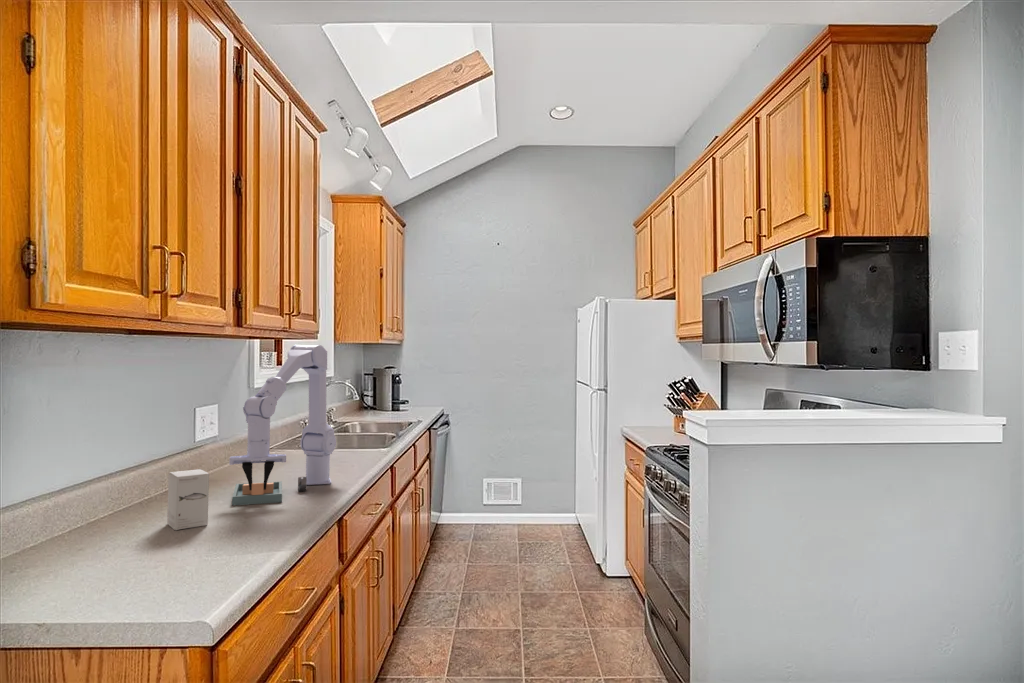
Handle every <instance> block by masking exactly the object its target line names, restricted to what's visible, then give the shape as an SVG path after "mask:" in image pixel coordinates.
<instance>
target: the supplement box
mask: <svg viewBox="0 0 1024 683" xmlns="http://www.w3.org/2000/svg"><path fill="white" fill-rule="evenodd" d="M167 481H168V483H167V484H168V485H167V520H166V521H167V525H168V526H169V527H170V528H171V529H173V530H174V531H179V530H182V529H183V530H184V529H191V528H198V527H205V526H208V524H209V488H210V487H209V486H210V484H209V483H210V473H209V472H207V471H205V470H203V469H192V470H189V469H188V470H180V471H178V470H177V471H170V472H168V480H167Z"/></svg>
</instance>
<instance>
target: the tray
mask: <svg viewBox="0 0 1024 683" xmlns="http://www.w3.org/2000/svg"><path fill="white" fill-rule="evenodd" d="M273 482H274V486H273V493H264V494H263V495H252V494H247V495H242V489H243V485H244V484H249V483H248V482H245V483H236V484H235V487H234V489H233V492H232V497H231V499H232V501H231V505H232V506H243V505H245V506H246V505H259V504H260V505H261V504H275V503H283V481H282V480H281V481H267V483H273ZM260 483H264V481H263V482H260Z"/></svg>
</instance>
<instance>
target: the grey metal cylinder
mask: <svg viewBox="0 0 1024 683" xmlns="http://www.w3.org/2000/svg"><path fill="white" fill-rule="evenodd" d="M306 482H307V477H306V476H298V478H297V492H298V493H305V492H307V485H306Z"/></svg>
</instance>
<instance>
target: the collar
mask: <svg viewBox="0 0 1024 683" xmlns="http://www.w3.org/2000/svg"><path fill="white" fill-rule="evenodd" d="M272 482H273V483H267V485H266V490H264V483H261V482H252V490H249V484H244V485H243V489H242V495H247V494H252V495H263V494H264V493H273V486H274V482H275V481H272Z"/></svg>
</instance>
